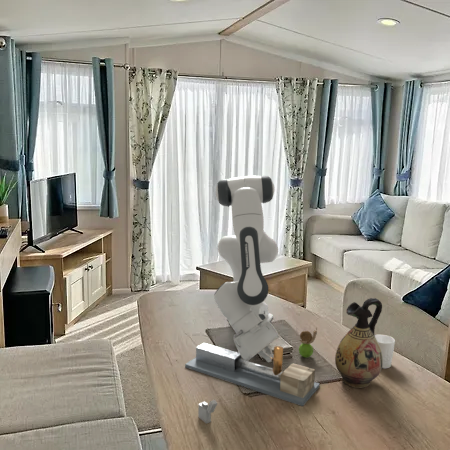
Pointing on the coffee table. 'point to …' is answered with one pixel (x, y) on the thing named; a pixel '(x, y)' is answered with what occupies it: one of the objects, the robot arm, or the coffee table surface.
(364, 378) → the ceramic jug
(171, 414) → the coffee table surface
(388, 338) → the white cup
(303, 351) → the snail figurine
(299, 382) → the birch socket
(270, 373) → the bolt with orange handle
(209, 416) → the lighter
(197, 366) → the slate board
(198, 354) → the grey sleeve
